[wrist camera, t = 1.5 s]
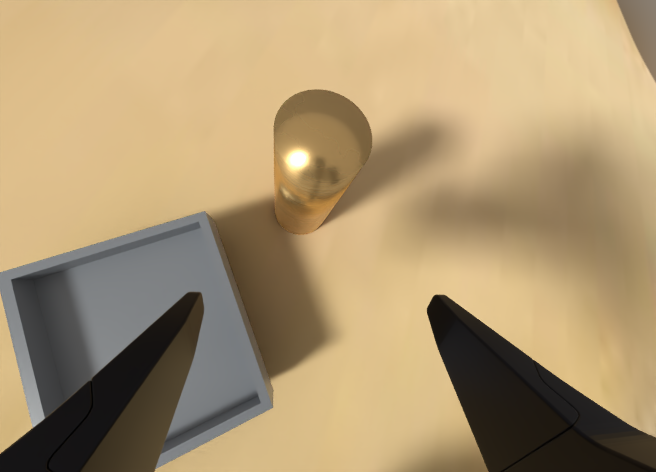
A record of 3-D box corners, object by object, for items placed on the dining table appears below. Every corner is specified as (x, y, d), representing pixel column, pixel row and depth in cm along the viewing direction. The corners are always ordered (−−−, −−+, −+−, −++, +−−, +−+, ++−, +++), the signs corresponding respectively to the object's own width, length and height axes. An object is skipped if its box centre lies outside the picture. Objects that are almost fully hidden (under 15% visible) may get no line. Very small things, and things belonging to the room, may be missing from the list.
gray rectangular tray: (273, 382, 21) (272, 407, 17) (108, 464, 18) (55, 521, 14) (218, 226, 22) (205, 211, 18) (58, 276, 19) (-4, 273, 15)
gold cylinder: (334, 221, 25) (389, 157, 13) (289, 243, 23) (304, 196, 11) (310, 178, 25) (342, 78, 13) (265, 198, 24) (255, 107, 12)
